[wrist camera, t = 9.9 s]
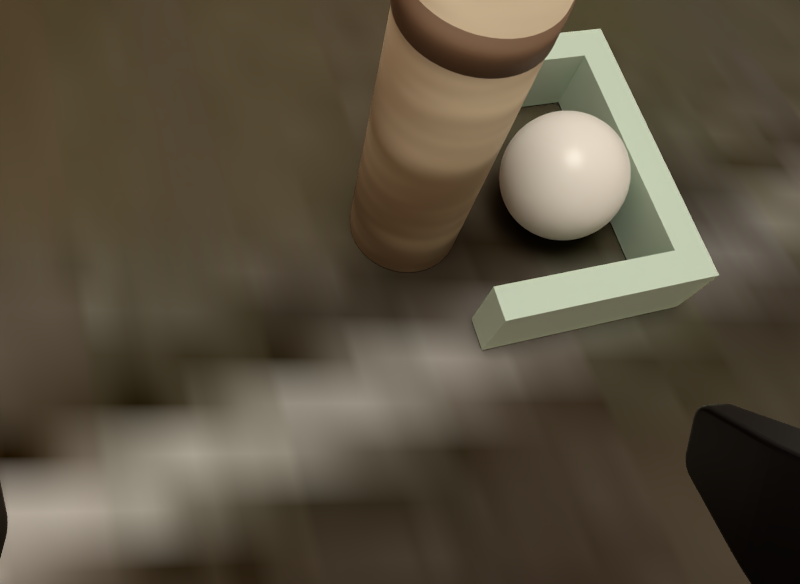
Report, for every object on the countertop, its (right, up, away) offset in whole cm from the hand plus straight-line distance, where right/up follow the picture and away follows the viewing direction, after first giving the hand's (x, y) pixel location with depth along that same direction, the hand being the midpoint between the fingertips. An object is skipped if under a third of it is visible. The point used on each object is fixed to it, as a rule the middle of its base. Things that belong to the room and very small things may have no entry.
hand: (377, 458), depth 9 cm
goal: (+5, +6, +19) cm, 20 cm away
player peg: (0, +5, +17) cm, 18 cm away
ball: (+6, +6, +16) cm, 19 cm away
